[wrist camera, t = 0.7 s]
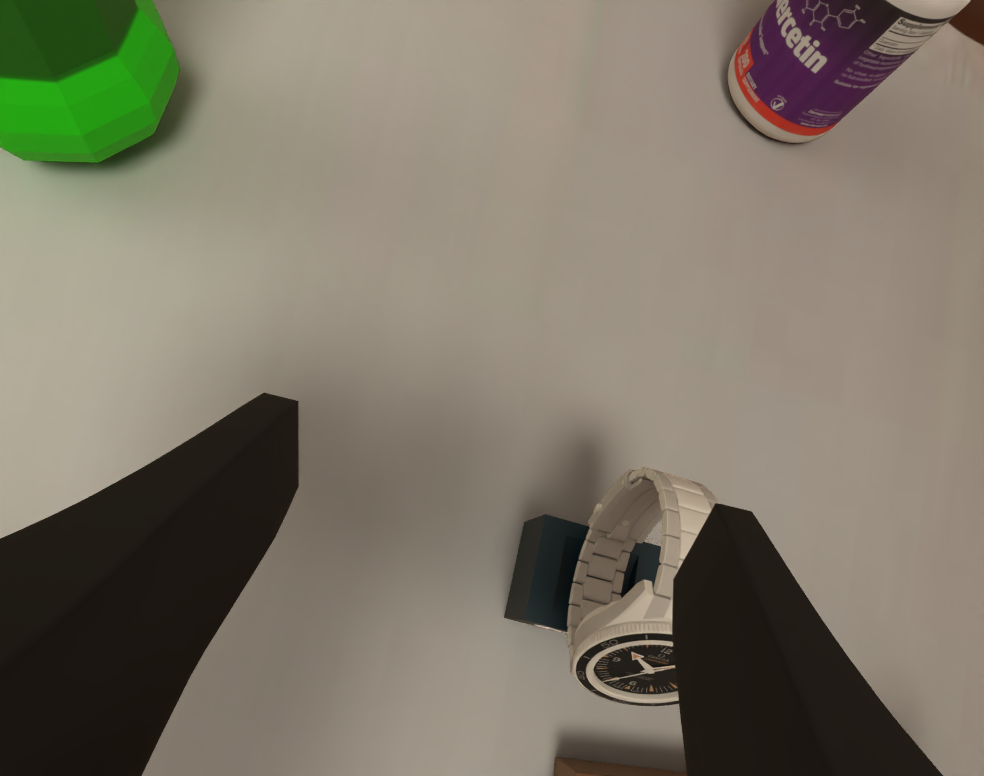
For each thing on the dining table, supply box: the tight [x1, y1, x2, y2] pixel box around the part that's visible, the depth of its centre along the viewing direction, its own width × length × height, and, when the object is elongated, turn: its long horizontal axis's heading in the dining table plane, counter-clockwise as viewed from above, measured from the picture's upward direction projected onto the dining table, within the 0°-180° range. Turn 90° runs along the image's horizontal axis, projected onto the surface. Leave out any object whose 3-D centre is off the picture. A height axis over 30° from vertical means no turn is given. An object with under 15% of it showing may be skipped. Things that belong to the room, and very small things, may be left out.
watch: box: [504, 468, 719, 706], centre depth 24 cm, size 6×8×11 cm
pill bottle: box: [728, 0, 971, 143], centre depth 36 cm, size 8×8×14 cm
